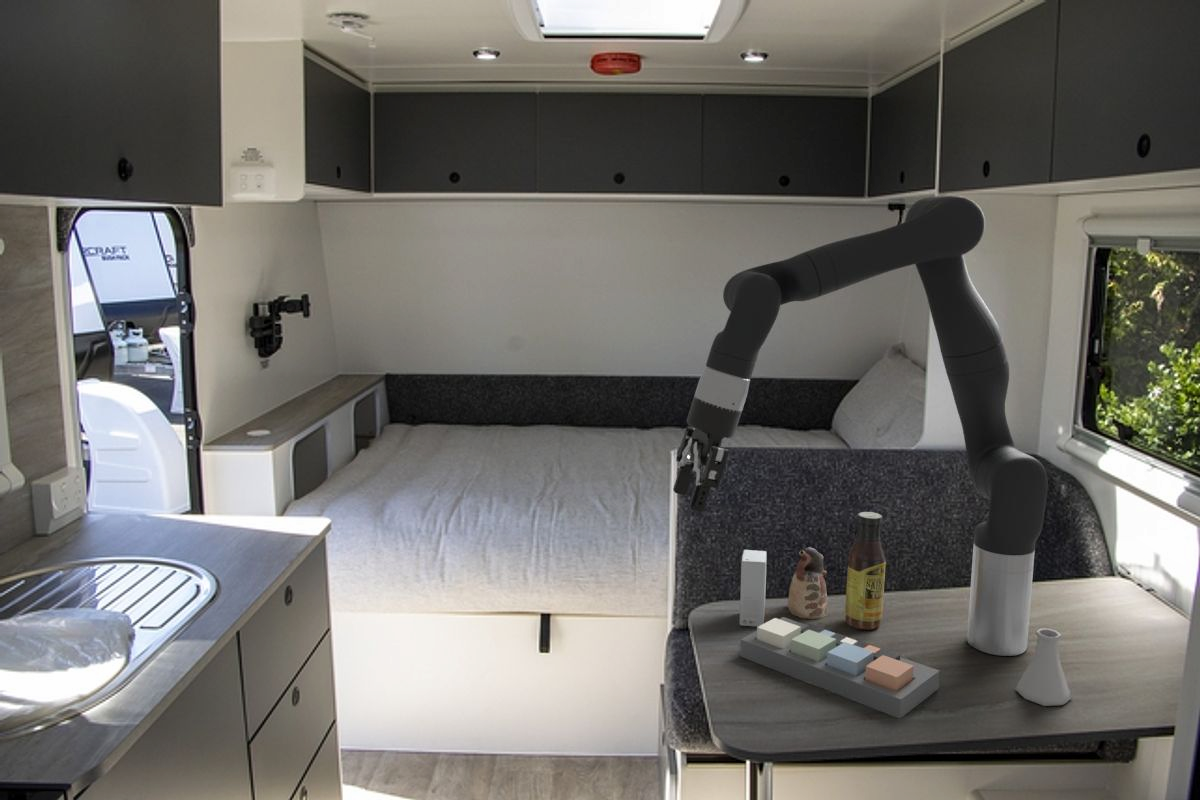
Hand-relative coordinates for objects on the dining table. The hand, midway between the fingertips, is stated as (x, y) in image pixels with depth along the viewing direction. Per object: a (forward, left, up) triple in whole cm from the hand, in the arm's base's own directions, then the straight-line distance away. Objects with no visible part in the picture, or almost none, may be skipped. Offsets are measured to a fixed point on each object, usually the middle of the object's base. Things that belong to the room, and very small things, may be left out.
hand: (687, 501), depth 147 cm
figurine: (-32, +2, -28) cm, 43 cm away
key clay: (-14, +28, -25) cm, 40 cm away
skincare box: (-22, -3, -28) cm, 36 cm away
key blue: (-14, +21, -25) cm, 36 cm away
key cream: (-14, +8, -25) cm, 30 cm away
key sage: (-14, +15, -25) cm, 32 cm away
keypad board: (-15, +18, -27) cm, 36 cm away
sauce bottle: (-34, +12, -28) cm, 46 cm away
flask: (-30, +44, -28) cm, 60 cm away
